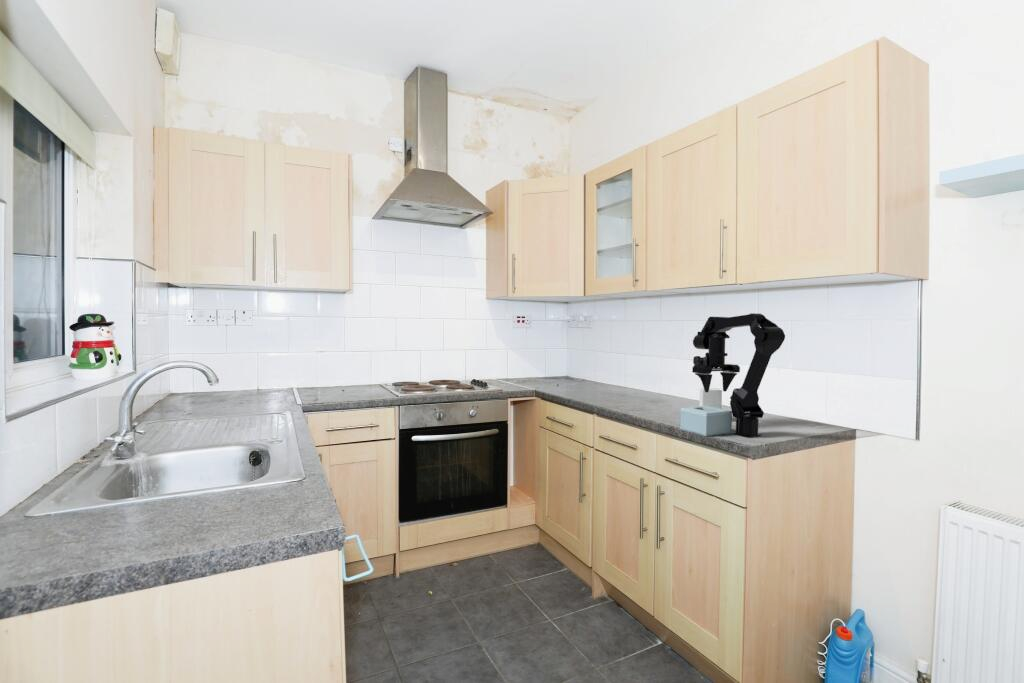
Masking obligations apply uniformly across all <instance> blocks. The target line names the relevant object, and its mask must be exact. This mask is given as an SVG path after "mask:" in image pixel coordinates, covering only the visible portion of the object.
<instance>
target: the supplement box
mask: <svg viewBox="0 0 1024 683" xmlns="http://www.w3.org/2000/svg"><path fill="white" fill-rule="evenodd" d="M722 394H723V389H720V388H718V387H717V388H716V387H714V388H713V387H710V388H709V391H708V393H707V392H705V390H704V387H700V388H699V399H698V400H699V401H698V402H699V403H698V404H699V405H698V406H709V407H714V408H719V409H722V402H723V401H722Z"/></svg>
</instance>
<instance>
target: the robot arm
mask: <svg viewBox="0 0 1024 683" xmlns="http://www.w3.org/2000/svg"><path fill="white" fill-rule="evenodd" d="M742 327H749V329H750V330H749V331H750V333H751V334H752V336H753V337H754V341H753V344H754V347H755V351H754V354H753V356H752V359H751V362H750V365H749V367H748V370H747V372H746V375H745V378H744V380H743V383H742V385H741V387H740V388H734V389H733V390H732V394H731V396H730V397H729V399H730V401H729V405H730V409H731V410H730V411H732V418H735V419H736V420H735V431H734V432H733V433H732V434H734V435H737V436H740V437H746V438H754V437H761V436H762V434H761V433H759V419H763V417H764V414H765V412H764V411H763V409H762V407H761V406H760V405H759V400H760V399H759V393H758V390H759V388H760V385H761V383H762V380H763V377H764V375H765V373H766V370H767V367H768V365H769V363H770V360H771V357H772V355H774V353H776V352H777V351H778V350H779V349H780V348H781V346H782V345H783V343H784V341H785V339H786V334H785V332H784V330H783V329H782V328H781V327H779V326H778V325H777V324H776V323H774V322H773V321H771V320H770V319H768V318H766V316H765V315H763V314H762V313H755V312H754V313H748V314H743V315H736V316H709V317H707V320H706V322H705V324H704V325H703V327H702V329H701V331H697V334H696V335H695V336H694V337H693V339H692V346H694V348H695V349H698V350H708V352H705V356H703V357H702V356H700V355H696V356H694V357H693V358H692V359H693V360H692V363H693V366H692V373H694V374H695V375H696V376H698V378H700V381H701V384H702V386H703V387H702V388H704V390H705V392H707V393H708V391H709V388H711V387H710V386H711V382H712V380H713V379H712V377H713V374H711V373H712V372H719V373H720V375H721V377H722V392H727V390H728V388H729V387H730V385H731V383H732V382H733V380H734V379H735V376H737V375H738V373H740V371H741V367H740V365H739V364H731V363H725V362H726V357H728V352H726V339H730V335H729V334H727V332H728V331H731V330H732V329H734V328H742Z"/></svg>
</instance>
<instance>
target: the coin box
mask: <svg viewBox="0 0 1024 683" xmlns="http://www.w3.org/2000/svg"><path fill="white" fill-rule="evenodd" d="M732 422H733V414H732V410H730V409H729V410H728V409H724V408H721V409H719V408H714V407H709V406H699V405H698V406H686V407H680V425H679V427H680V431H684V432H688V433H691V434H695V435H700V436H702V437H706V438H707V437H713V435H715V436H722V434H724V435H732V426H733V424H732Z"/></svg>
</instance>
